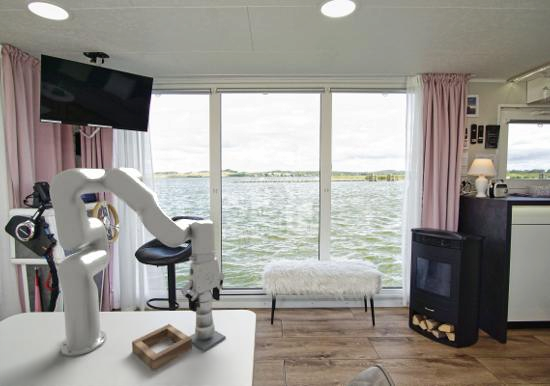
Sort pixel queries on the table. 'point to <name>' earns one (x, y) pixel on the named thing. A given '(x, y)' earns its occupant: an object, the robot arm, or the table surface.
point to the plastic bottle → (204, 316)
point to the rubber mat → (207, 341)
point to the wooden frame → (164, 356)
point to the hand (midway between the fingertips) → (205, 304)
